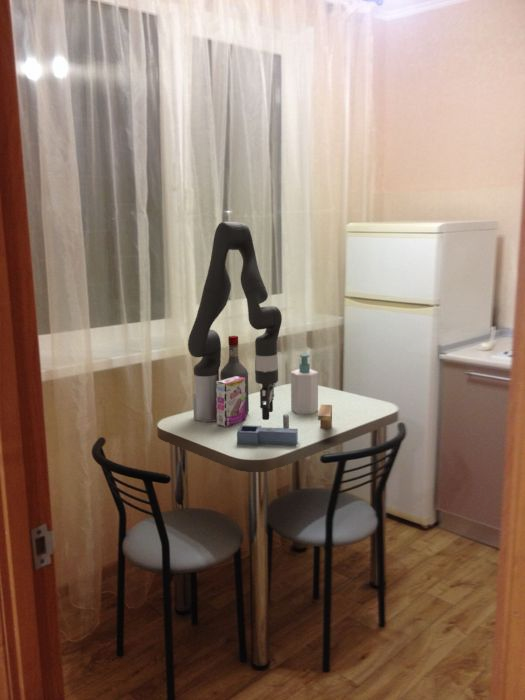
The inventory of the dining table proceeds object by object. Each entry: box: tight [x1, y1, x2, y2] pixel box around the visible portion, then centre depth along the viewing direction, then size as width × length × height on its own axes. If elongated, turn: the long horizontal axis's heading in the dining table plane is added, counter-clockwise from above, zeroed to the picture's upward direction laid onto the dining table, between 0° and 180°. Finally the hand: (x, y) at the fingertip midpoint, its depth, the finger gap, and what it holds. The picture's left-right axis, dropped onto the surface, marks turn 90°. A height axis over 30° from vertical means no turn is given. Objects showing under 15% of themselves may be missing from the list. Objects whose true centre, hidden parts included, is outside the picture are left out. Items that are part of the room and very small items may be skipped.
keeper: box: [317, 404, 333, 429], centre depth 222 cm, size 4×13×8 cm, turn 171°
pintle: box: [282, 414, 290, 428], centre depth 223 cm, size 2×2×6 cm
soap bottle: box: [290, 353, 319, 415], centre depth 246 cm, size 10×9×22 cm
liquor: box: [219, 335, 250, 415], centre depth 242 cm, size 9×9×30 cm
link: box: [236, 424, 299, 447], centre depth 213 cm, size 20×7×4 cm, turn 81°
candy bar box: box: [216, 376, 247, 428], centre depth 233 cm, size 11×5×16 cm, turn 141°
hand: (267, 415), depth 212 cm, fingers open, 8 cm apart
